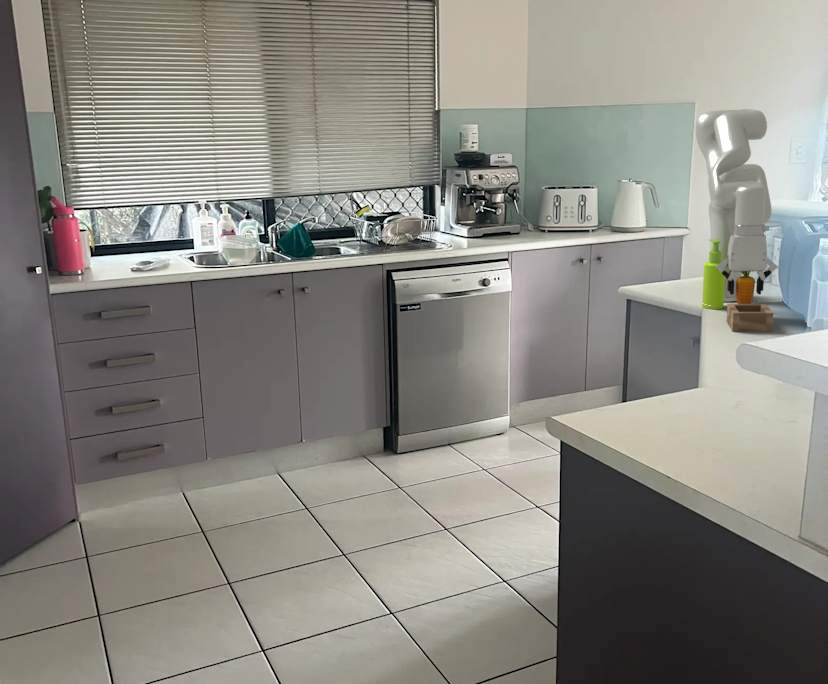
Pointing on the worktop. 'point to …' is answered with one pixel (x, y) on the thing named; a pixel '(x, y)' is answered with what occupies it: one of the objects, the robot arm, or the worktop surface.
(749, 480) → the worktop surface
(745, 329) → the holder
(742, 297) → the carrot
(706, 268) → the soap dispenser
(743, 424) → the worktop surface
